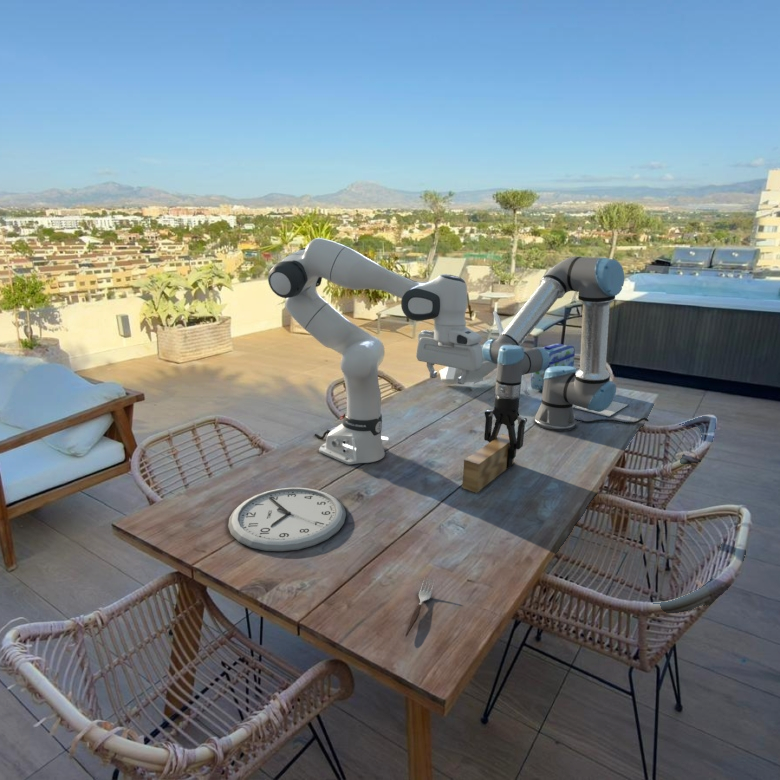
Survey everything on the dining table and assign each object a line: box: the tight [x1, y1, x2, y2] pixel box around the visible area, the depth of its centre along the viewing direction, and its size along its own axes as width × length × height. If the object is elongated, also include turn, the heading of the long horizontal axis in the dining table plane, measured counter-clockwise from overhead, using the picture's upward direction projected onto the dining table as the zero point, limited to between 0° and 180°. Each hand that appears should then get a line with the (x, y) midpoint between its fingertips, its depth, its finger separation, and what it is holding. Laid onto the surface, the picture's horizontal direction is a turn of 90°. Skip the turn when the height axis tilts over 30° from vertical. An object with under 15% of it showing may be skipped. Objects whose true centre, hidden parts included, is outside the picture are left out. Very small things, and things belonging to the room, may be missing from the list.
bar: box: [461, 433, 515, 494], centre depth 161 cm, size 26×5×9 cm, turn 143°
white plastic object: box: [438, 310, 531, 397], centre depth 245 cm, size 37×45×31 cm
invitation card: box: [573, 400, 629, 418], centre depth 226 cm, size 21×1×15 cm
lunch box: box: [530, 343, 576, 391], centre depth 249 cm, size 26×11×21 cm, turn 134°
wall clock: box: [227, 487, 347, 552], centre depth 136 cm, size 30×2×30 cm
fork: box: [405, 577, 435, 637], centre depth 104 cm, size 3×16×2 cm, turn 160°
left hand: (447, 380), depth 152 cm, fingers open, 8 cm apart
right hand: (501, 464), depth 168 cm, fingers closed on bar, 5 cm apart
